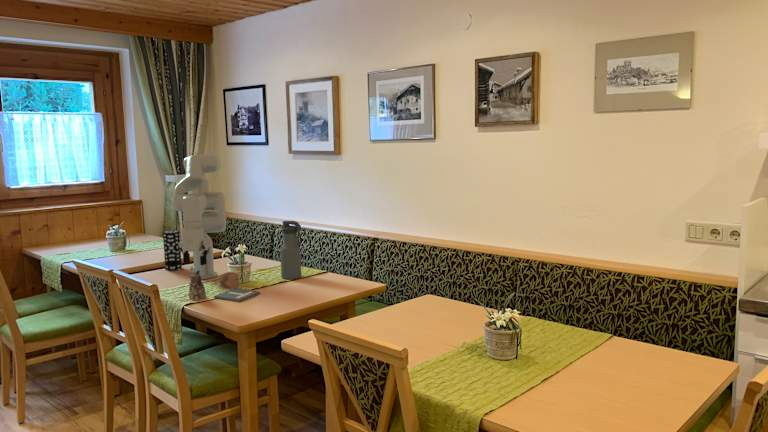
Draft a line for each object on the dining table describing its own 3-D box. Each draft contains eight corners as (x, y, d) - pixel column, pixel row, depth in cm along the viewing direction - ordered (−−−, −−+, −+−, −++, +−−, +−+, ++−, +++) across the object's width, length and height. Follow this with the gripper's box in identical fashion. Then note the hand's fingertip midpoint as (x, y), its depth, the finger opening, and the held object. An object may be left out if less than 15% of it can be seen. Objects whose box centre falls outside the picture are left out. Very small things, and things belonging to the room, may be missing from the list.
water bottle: (304, 274, 302) (302, 219, 298) (299, 279, 292) (297, 223, 288) (284, 274, 303) (282, 219, 299) (279, 279, 293) (276, 223, 289)
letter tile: (214, 298, 263) (214, 295, 263) (235, 290, 276) (235, 287, 275) (239, 302, 257) (239, 299, 257) (260, 293, 269) (260, 291, 269)
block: (220, 287, 281) (219, 274, 280) (228, 284, 286) (228, 271, 285) (230, 288, 278) (229, 276, 277) (238, 285, 284) (238, 273, 283)
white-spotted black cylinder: (185, 268, 318) (183, 231, 315) (172, 271, 311) (169, 233, 308) (175, 266, 323) (172, 229, 319) (161, 269, 316) (159, 232, 312)
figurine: (185, 299, 262) (183, 272, 260) (195, 295, 268) (194, 268, 266) (199, 301, 259) (197, 274, 257) (209, 296, 266) (207, 270, 264)
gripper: (171, 224, 259) (173, 263, 261) (201, 227, 251) (204, 267, 254) (184, 222, 266) (186, 260, 268) (214, 224, 258) (216, 263, 260)
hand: (195, 263), depth 261 cm, fingers open, 9 cm apart
